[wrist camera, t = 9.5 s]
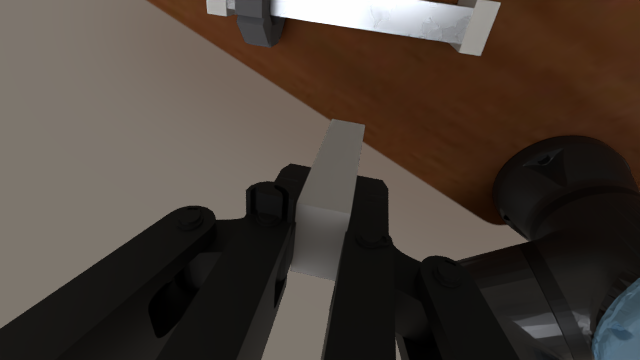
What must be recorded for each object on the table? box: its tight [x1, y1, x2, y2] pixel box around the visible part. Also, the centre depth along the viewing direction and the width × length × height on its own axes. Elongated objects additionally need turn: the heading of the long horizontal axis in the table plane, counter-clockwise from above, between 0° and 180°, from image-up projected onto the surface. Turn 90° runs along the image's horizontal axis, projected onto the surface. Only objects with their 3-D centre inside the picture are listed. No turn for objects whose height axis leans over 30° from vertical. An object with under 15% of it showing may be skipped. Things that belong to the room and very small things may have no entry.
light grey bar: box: [227, 0, 474, 44], centre depth 30 cm, size 25×3×3 cm, turn 83°
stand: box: [207, 0, 501, 56], centre depth 32 cm, size 27×10×7 cm, turn 83°
